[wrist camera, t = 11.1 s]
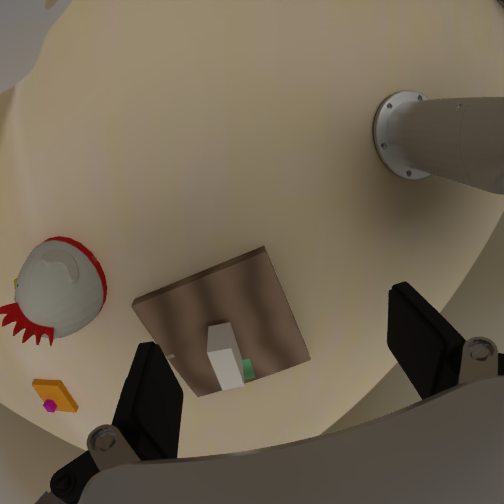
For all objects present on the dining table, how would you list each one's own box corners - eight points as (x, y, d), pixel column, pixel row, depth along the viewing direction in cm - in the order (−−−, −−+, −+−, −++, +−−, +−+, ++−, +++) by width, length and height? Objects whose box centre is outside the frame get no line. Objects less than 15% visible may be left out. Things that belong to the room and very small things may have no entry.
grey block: (208, 321, 41) (206, 352, 35) (230, 317, 41) (231, 348, 35) (230, 380, 46) (232, 411, 39) (249, 376, 46) (252, 408, 39)
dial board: (264, 245, 40) (265, 251, 38) (308, 351, 47) (311, 360, 46) (134, 299, 42) (131, 306, 40) (198, 388, 49) (197, 397, 47)
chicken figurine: (45, 219, 36) (-18, 259, 22) (120, 268, 40) (79, 330, 26) (25, 289, 40) (-24, 339, 26) (90, 332, 43) (56, 397, 30)
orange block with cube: (35, 377, 48) (27, 390, 44) (61, 378, 48) (54, 392, 44) (52, 403, 50) (46, 416, 47) (79, 405, 51) (73, 419, 47)
